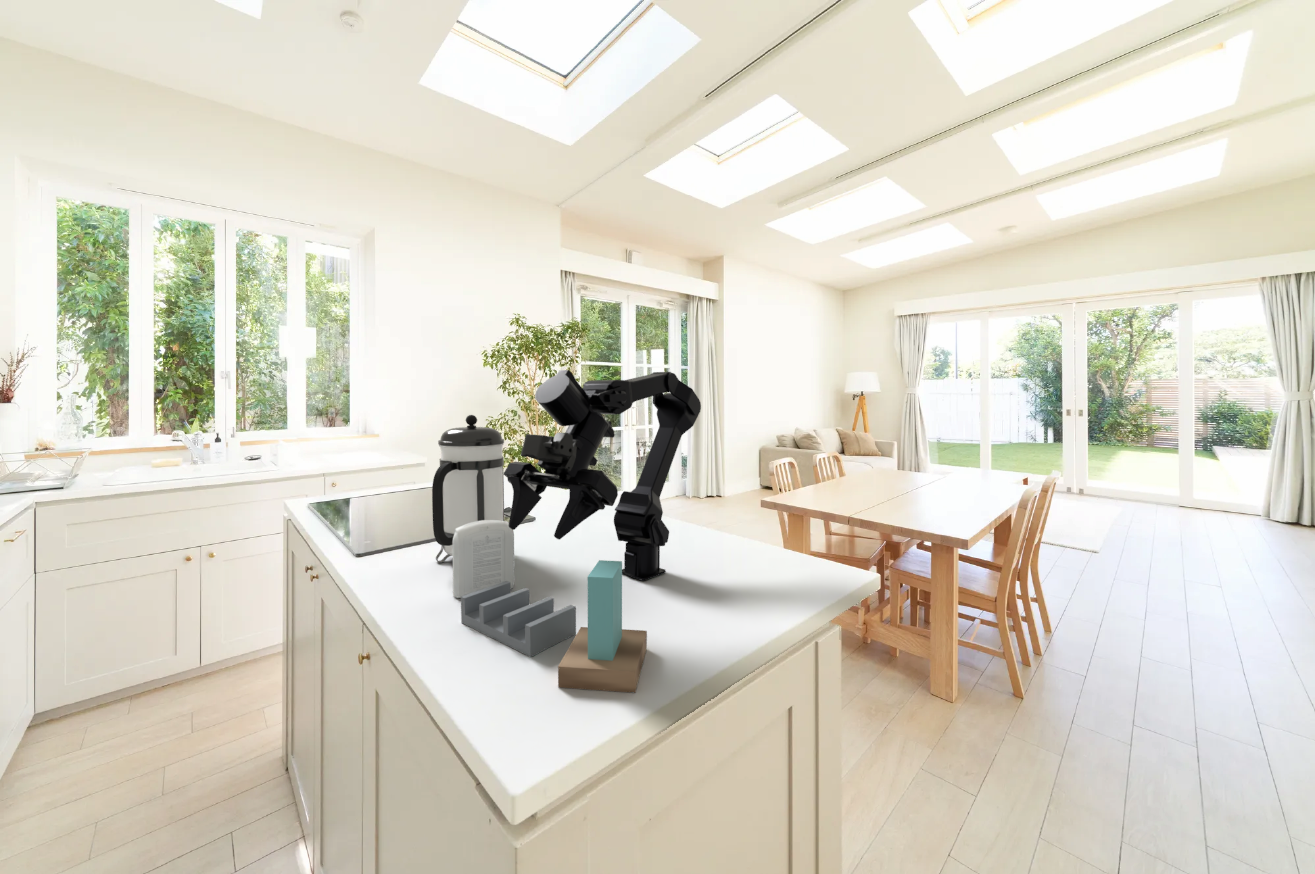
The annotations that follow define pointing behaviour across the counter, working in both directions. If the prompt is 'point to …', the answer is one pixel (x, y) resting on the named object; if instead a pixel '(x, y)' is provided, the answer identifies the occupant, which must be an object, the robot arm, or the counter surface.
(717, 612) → the counter surface
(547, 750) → the counter surface
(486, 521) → the grey rounded slab
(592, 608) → the thick teal slab
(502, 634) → the rack
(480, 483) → the coffee press
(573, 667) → the brown block
